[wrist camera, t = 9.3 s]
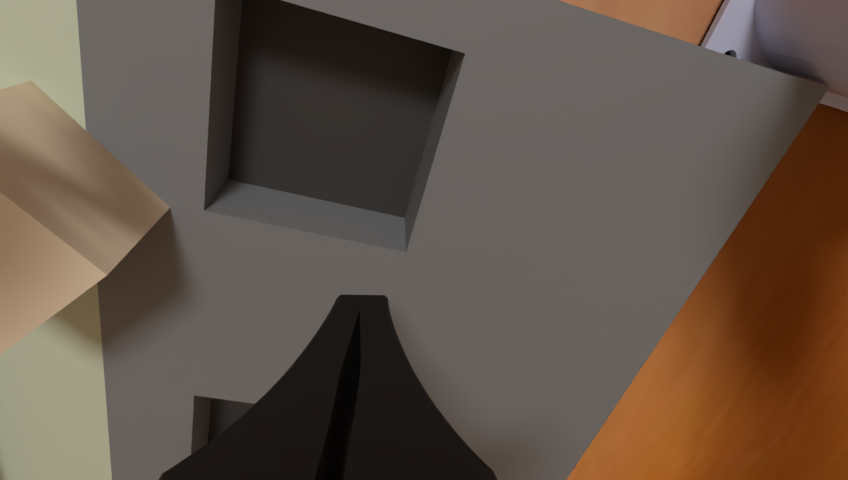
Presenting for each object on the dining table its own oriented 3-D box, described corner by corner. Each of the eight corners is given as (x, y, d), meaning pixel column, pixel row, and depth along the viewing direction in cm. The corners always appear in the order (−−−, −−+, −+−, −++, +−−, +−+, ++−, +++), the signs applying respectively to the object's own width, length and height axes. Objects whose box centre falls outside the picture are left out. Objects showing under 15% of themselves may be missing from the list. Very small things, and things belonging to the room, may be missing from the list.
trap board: (765, 69, 18) (870, 99, 14) (510, 497, 30) (527, 575, 26) (-117, -213, 13) (-347, -294, 9) (21, 441, 25) (-47, 528, 21)
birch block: (170, 207, 16) (107, 275, 12) (73, 281, 17) (-9, 361, 13) (30, 79, 14) (-94, 118, 10) (-70, 175, 15) (-211, 238, 11)
